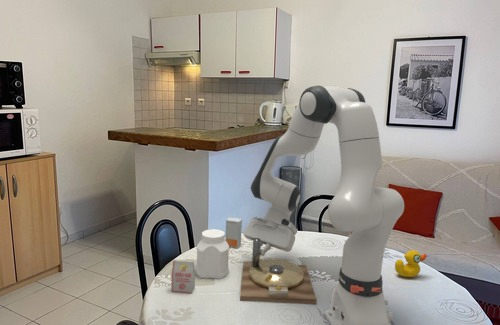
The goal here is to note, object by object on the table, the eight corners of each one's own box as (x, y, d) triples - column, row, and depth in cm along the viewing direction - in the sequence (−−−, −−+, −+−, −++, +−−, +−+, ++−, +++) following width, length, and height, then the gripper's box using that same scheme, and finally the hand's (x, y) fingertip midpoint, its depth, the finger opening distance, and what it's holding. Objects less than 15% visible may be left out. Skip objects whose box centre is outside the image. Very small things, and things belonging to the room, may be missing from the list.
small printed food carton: (174, 286, 121) (175, 258, 120) (194, 287, 121) (195, 259, 119) (171, 291, 118) (171, 262, 116) (191, 293, 117) (192, 264, 115)
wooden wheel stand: (316, 304, 114) (317, 291, 113) (240, 300, 114) (240, 287, 113) (306, 269, 137) (306, 258, 137) (242, 266, 138) (243, 255, 137)
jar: (194, 278, 127) (195, 237, 125) (198, 265, 137) (199, 227, 134) (227, 279, 127) (228, 239, 125) (229, 267, 137) (230, 229, 134)
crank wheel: (310, 288, 120) (313, 254, 118) (254, 291, 117) (255, 256, 115) (294, 263, 138) (296, 233, 136) (245, 264, 135) (246, 234, 133)
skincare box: (224, 246, 155) (225, 219, 153) (228, 242, 159) (229, 216, 157) (238, 248, 154) (239, 221, 152) (241, 245, 158) (242, 218, 156)
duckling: (419, 272, 138) (422, 247, 137) (427, 279, 133) (430, 253, 131) (391, 272, 137) (393, 248, 135) (398, 279, 132) (401, 254, 130)
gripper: (250, 211, 141) (233, 242, 135) (295, 224, 129) (280, 259, 123) (256, 219, 145) (240, 250, 139) (301, 232, 134) (286, 266, 128)
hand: (259, 254), depth 131 cm, fingers closed, pressing on crank wheel
